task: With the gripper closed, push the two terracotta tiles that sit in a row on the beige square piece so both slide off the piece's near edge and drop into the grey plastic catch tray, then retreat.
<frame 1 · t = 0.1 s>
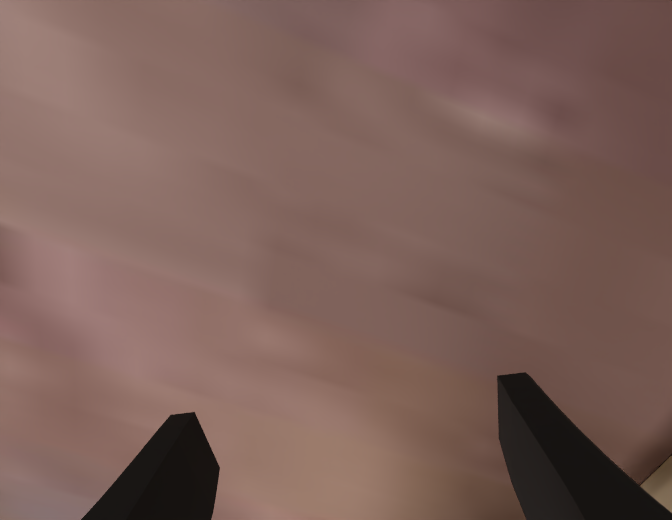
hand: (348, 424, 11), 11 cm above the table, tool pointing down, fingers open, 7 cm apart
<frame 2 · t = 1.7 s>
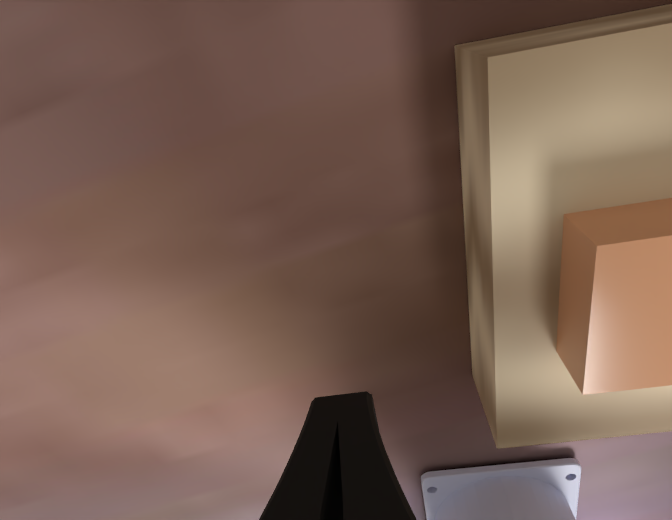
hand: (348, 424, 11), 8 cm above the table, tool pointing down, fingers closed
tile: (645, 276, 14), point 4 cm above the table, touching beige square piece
beige square piece: (655, 212, 17), on the table
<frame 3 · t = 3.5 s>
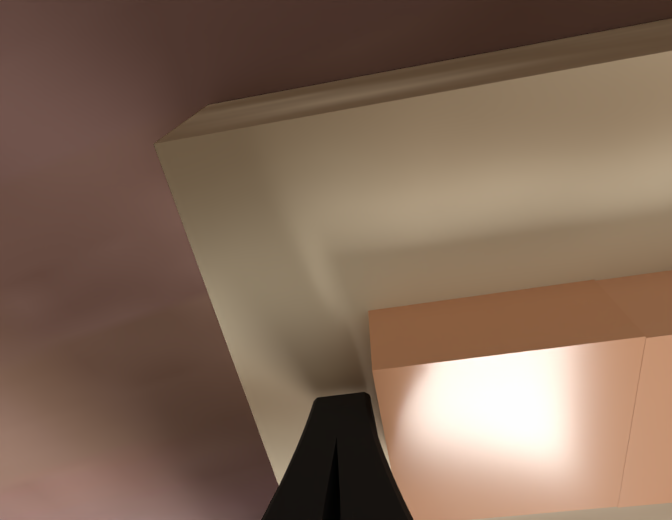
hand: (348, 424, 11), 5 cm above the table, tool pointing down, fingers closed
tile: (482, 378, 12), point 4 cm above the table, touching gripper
beige square piece: (481, 287, 15), on the table
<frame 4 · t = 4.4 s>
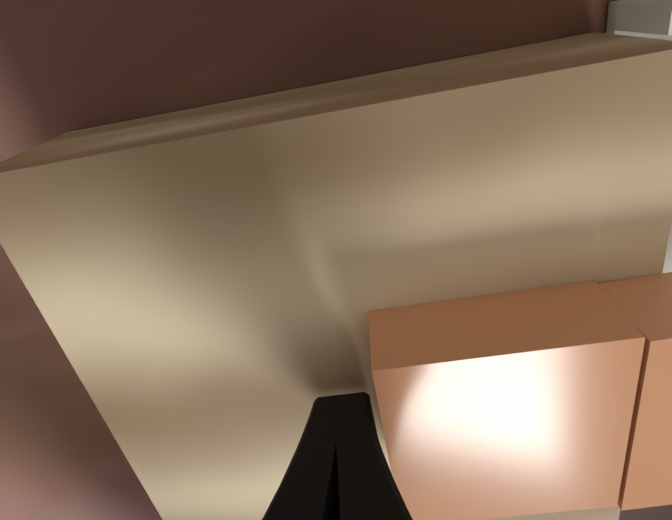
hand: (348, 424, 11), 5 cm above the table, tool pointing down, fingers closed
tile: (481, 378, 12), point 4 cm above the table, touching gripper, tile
beige square piece: (357, 304, 15), on the table
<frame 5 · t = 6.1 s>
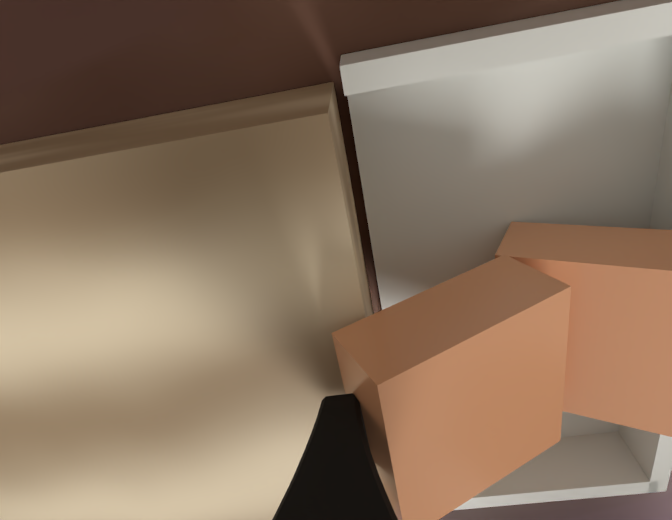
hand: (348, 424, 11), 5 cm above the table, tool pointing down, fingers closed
catch tray: (504, 284, 15), on the table
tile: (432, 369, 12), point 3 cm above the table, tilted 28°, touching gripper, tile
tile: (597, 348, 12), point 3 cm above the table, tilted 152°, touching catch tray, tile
beige square piece: (171, 330, 16), on the table
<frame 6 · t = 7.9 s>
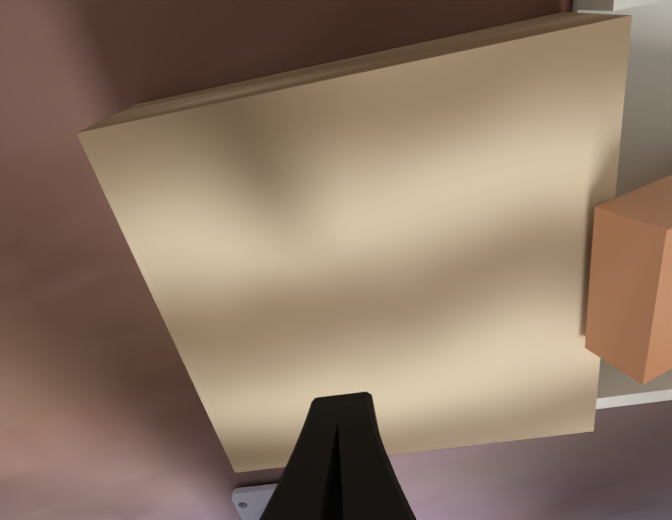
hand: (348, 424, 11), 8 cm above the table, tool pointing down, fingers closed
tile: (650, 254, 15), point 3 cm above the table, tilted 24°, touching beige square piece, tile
beige square piece: (372, 249, 18), on the table
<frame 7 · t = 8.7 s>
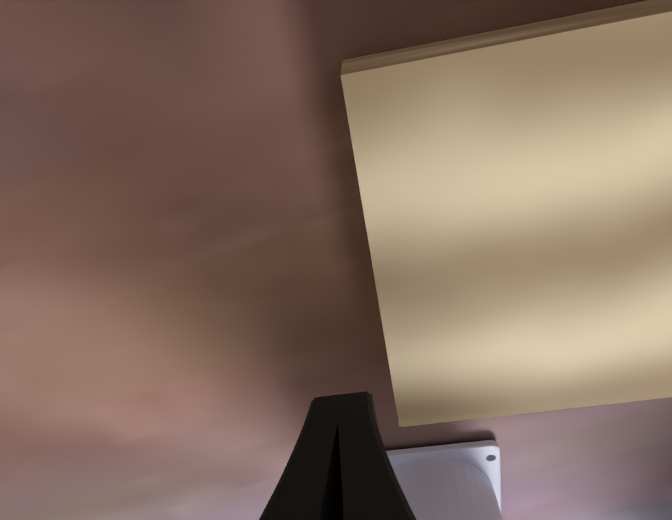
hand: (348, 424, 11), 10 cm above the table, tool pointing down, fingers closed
beige square piece: (541, 210, 19), on the table
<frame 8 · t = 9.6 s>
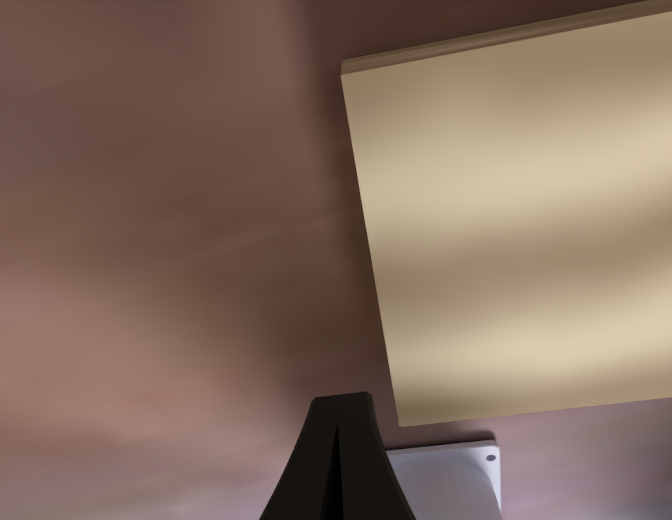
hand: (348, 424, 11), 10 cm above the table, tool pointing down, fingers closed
beige square piece: (541, 210, 19), on the table
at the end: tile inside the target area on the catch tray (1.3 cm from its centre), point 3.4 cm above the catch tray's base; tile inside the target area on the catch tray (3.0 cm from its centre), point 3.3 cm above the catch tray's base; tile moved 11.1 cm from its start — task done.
